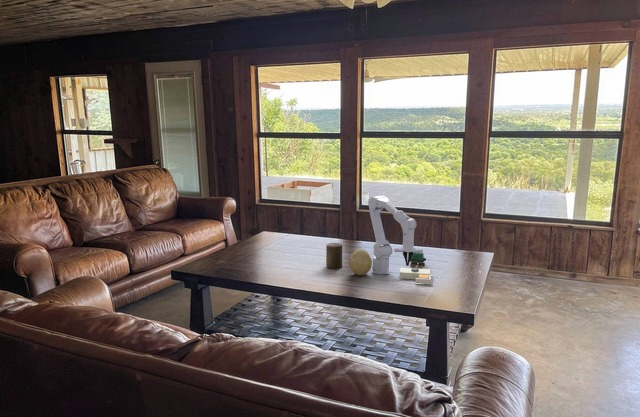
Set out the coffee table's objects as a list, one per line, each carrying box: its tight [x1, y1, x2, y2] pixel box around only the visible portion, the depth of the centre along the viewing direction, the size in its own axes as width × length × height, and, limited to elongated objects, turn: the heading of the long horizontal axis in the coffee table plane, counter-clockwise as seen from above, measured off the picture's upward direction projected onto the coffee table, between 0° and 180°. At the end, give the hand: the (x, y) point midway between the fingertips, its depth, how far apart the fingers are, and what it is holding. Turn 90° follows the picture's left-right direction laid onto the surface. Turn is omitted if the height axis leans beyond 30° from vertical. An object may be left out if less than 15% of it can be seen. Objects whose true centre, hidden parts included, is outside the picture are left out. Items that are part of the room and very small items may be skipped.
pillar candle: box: [325, 242, 343, 270], centre depth 275 cm, size 10×10×15 cm
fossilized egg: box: [348, 248, 373, 276], centre depth 260 cm, size 13×13×15 cm
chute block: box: [419, 274, 429, 279], centre depth 249 cm, size 5×5×4 cm
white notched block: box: [399, 267, 432, 285], centre depth 253 cm, size 16×16×4 cm
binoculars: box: [409, 249, 427, 268], centre depth 277 cm, size 9×11×10 cm
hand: (407, 265), depth 249 cm, fingers closed
